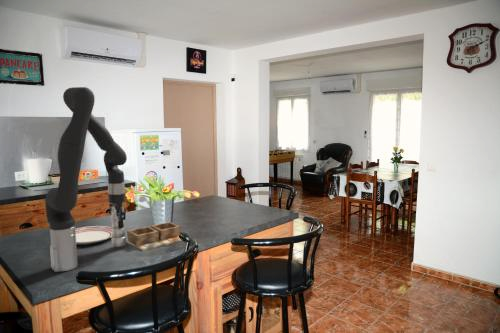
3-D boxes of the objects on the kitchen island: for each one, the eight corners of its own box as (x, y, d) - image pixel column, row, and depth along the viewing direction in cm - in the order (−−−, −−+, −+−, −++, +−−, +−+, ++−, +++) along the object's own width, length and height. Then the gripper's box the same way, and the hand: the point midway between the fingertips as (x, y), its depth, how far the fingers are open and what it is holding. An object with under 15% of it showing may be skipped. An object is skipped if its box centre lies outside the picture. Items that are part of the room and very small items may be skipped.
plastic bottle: (109, 246, 171) (107, 205, 168) (122, 243, 175) (121, 203, 173) (114, 249, 166) (113, 207, 164) (128, 246, 171) (127, 205, 169)
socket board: (142, 251, 166) (141, 238, 165) (126, 241, 179) (125, 230, 179) (186, 239, 182) (186, 228, 181) (169, 231, 195) (168, 221, 195)
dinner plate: (117, 228, 202) (117, 223, 202) (118, 244, 177) (118, 237, 177) (63, 234, 193) (63, 228, 192) (56, 251, 167) (55, 244, 167)
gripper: (103, 191, 171) (104, 225, 172) (114, 195, 160) (116, 231, 162) (118, 189, 176) (119, 222, 178) (130, 193, 165) (132, 228, 167)
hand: (118, 226), depth 170 cm, fingers closed on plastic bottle, 6 cm apart
